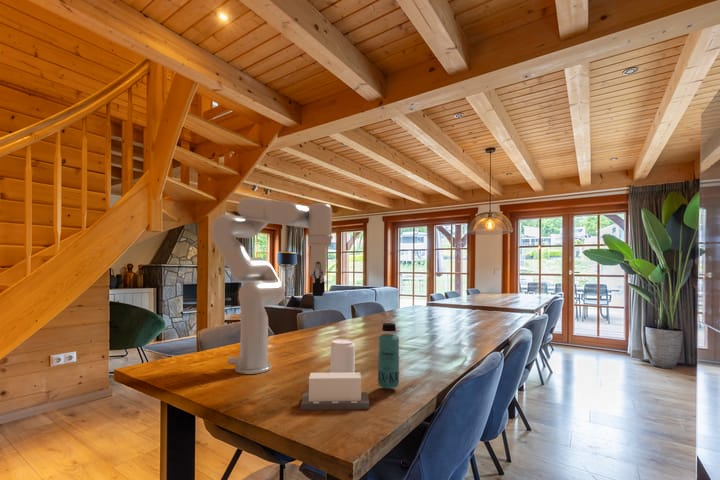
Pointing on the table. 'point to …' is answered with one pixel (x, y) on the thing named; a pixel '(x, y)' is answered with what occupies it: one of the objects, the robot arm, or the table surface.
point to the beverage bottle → (388, 358)
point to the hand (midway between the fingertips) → (318, 294)
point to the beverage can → (342, 356)
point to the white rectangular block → (335, 386)
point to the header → (335, 403)
